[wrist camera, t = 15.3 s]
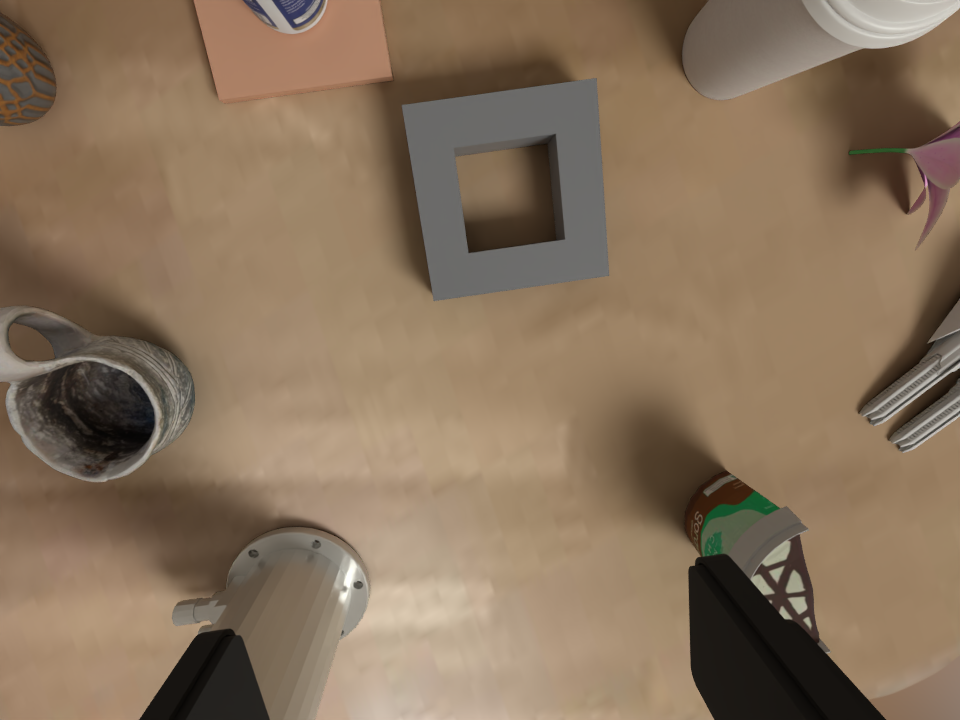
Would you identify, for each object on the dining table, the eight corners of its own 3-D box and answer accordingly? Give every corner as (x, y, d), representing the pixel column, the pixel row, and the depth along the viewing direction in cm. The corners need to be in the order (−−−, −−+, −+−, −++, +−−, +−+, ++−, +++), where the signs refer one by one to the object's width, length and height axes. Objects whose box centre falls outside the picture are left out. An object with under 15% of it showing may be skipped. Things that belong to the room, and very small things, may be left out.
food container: (658, 478, 40) (721, 551, 31) (723, 456, 40) (807, 522, 31) (687, 585, 43) (753, 682, 34) (748, 565, 43) (832, 657, 34)
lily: (830, 262, 37) (983, 272, 30) (807, 156, 31) (992, 137, 24) (891, 166, 39) (1049, 154, 32) (880, 48, 33) (1073, -1, 26)
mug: (144, 460, 38) (36, 534, 28) (34, 336, 35) (-129, 370, 25) (237, 403, 37) (158, 459, 27) (132, 271, 34) (2, 280, 24)
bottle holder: (435, 296, 36) (433, 301, 33) (406, 117, 32) (401, 105, 29) (596, 273, 36) (609, 275, 33) (584, 93, 32) (596, 78, 30)
